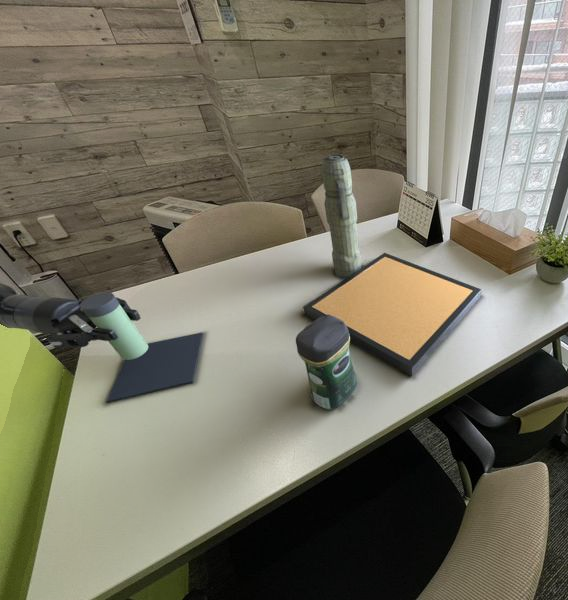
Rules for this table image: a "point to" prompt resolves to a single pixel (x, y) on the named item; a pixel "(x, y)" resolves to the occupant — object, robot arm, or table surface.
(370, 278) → the cork board
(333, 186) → the thermos
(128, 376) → the mat
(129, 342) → the canister
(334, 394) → the coffee jar
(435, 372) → the table surface
